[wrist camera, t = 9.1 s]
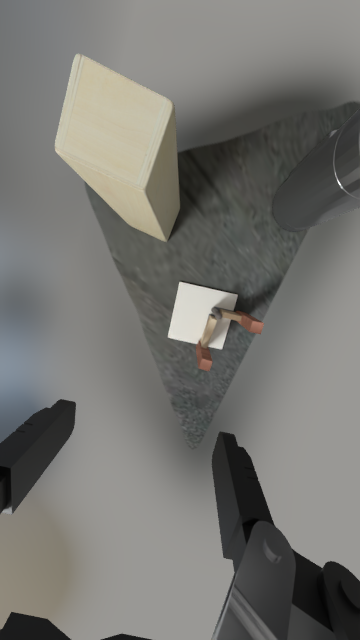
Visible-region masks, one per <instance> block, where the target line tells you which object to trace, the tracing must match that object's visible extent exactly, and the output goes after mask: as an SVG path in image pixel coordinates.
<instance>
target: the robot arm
mask: <svg viewBox="0 0 360 640" xmlns="http://www.w3.org/2000/svg"><path fill="white" fill-rule="evenodd" d="M359 207H360V109H359V110H357V112H356V113H355V114H354V115H353V116H352V117H351V118H350V119H348V120H347V121H346V122H345V123H344V124H343V125H342V126H341V127H340V128H339V129H338V130H333V131H332V132H330V133H329V134H328V135H327V136H326V137H325V138H324V139H323V140H322V141H321V142H320V143H319V144H318V145H317V146H316V148H315V149H314V150H313V151H312V152H311V153H310V154H309V155H308V156H307V157H306V158H305V159H304V160H303V161H302V162H301V163H300V164H299V165H298V166H297V167H296V168H295V169H294V170H293V171H292V172H291V173H290V176H289V178H288V179H287V180H286V181H285V182H284V183H283V184H282V185H281V186H280V188H279V189H278V191H277V193H276V194H275V197H274V200H273V215H274V218H275V220H276V222H277V223H278V224H279V225H280V227H282V228H283V229H285V230H288V231H292V232H298V231H303V230H306V229H308V228H310V227H312V226H315V225H318V224H320V223H323V222H325V221H327V220H330V219H332V218H335V217H337V216H340V215H342V214H345V213H347V212H349V211H352V210H354V209H357V208H359ZM75 410H76V403H75V402H73V401H67V400H62V399H60V400H58V401H57V402H56V404H54V405H53V406H52V407H51V408H44V409H42V410H40V411H39V412H37V413H35V414H33V415H32V416H31V417H30V418H29V419H28V420H27V421H25V422H24V424H22V425H21V426H20V427H19V428H17V429H16V431H15V432H13V433H12V434H11V435H10V436H9V437H7V438H6V439H5V440H4V441H3V442H2V443H0V513H7V514H13V513H14V511H15V510H16V508H17V507H18V506H19V504H20V503H21V502H22V500H23V499H24V498H25V496H26V495H27V493H28V492H29V491H30V490H31V488H32V487H33V486H34V484H35V483H36V482H37V480H38V479H39V478H40V476H41V475H42V474H43V472H44V471H45V469H46V468H47V467H48V465H49V464H50V463H51V461H52V460H53V459H54V457H55V456H56V455H57V453H58V452H59V451H60V449H61V448H62V447H63V445H64V444H65V443H66V441H67V440H68V439H69V437H70V435H71V434H72V431H73V429H74V424H75ZM212 471H213V479H214V487H215V494H216V502H217V510H218V518H219V526H220V534H221V541H222V549H223V557H224V558H226V559H232V560H233V566H234V572H235V573H234V576H233V578H232V581H231V584H230V587H229V590H228V593H227V595H226V598H225V601H224V604H223V607H222V610H221V613H220V616H219V618H218V622H217V624H216V627H215V630H214V633H213V636H212V639H211V640H360V581H359V580H358V579H357V578H356V577H355V576H354V575H353V574H352V573H351V572H350V571H349V570H348V569H346V568H345V567H344V566H342V565H340V564H339V563H336V562H332V561H330V562H327V563H326V564H325V565H324V567H323V568H321V567H319V566H318V565H316V564H315V563H313V562H311V561H310V560H308V559H306V558H305V557H303V556H301V555H300V554H298V553H297V552H295V551H294V550H293V549H292V548H291V546H290V544H289V543H288V541H287V539H286V538H285V536H284V535H283V534H282V533H281V531H280V530H279V529H277V528H276V527H275V525H274V523H273V520H272V517H271V514H270V511H269V509H268V506H267V503H266V500H265V497H264V494H263V492H262V489H261V486H260V483H259V481H258V477H257V474H256V472H255V469H254V466H253V463H252V460H251V457H250V456H249V455H248V453H247V452H246V450H245V449H244V448H243V447H239V446H238V445H237V442H236V438H235V435H234V434H230V433H225V432H219V434H218V437H217V441H216V444H215V448H214V451H213V455H212ZM0 640H71V639H70V638H68V637H67V636H66V635H65V634H64V633H63V632H62V631H60V630H59V629H58V628H57V627H56V626H55V625H53V624H52V623H51V622H50V621H49V620H48V619H44V618H40V617H34V616H29V615H24V614H19V613H14V612H11V614H10V616H9V618H8V619H7V621H6V623H5V625H4V627H3V629H0ZM102 640H151V639H146V638H141V637H136V636H131V635H126V634H119V635H116V636H112V637H108V638H105V639H102Z"/></svg>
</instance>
